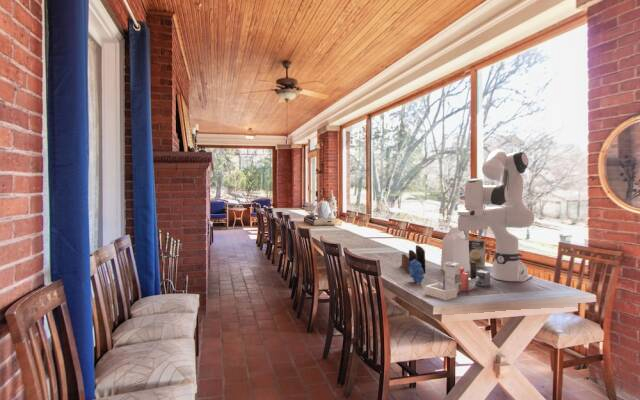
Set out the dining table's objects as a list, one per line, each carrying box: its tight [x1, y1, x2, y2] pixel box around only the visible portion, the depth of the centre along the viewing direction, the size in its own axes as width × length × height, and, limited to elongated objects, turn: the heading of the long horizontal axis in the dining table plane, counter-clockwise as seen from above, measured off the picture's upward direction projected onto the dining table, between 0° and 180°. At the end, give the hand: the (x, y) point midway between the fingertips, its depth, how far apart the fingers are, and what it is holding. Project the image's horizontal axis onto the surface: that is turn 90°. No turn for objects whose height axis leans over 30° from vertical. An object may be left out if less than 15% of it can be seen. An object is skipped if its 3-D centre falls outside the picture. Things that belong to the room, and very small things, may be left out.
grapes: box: [409, 259, 425, 284], centre depth 215 cm, size 12×7×12 cm, turn 22°
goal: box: [424, 283, 458, 301], centre depth 191 cm, size 8×12×4 cm, turn 34°
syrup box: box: [442, 262, 460, 294], centre depth 195 cm, size 6×6×14 cm
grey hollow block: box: [474, 269, 491, 288], centre depth 209 cm, size 4×5×7 cm
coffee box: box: [468, 238, 486, 268], centre depth 255 cm, size 9×6×16 cm
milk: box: [440, 226, 470, 273], centre depth 243 cm, size 12×12×26 cm
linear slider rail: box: [459, 262, 492, 292], centre depth 205 cm, size 24×7×12 cm, turn 124°
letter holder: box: [401, 244, 426, 274], centre depth 247 cm, size 10×20×14 cm, turn 1°
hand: (473, 239), depth 203 cm, fingers open, 8 cm apart
